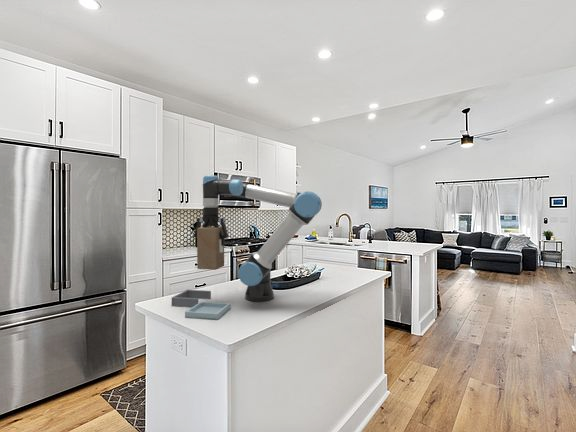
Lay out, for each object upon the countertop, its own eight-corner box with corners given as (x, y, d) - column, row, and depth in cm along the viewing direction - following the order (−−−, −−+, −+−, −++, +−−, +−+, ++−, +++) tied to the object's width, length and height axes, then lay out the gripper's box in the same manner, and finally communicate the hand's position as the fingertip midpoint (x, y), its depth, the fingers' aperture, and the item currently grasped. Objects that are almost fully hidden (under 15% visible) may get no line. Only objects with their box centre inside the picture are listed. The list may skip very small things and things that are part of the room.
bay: (210, 298, 162) (210, 290, 162) (197, 307, 148) (197, 299, 147) (187, 297, 165) (187, 289, 165) (171, 305, 150) (171, 297, 150)
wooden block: (216, 270, 148) (216, 228, 147) (196, 269, 150) (196, 227, 149) (224, 266, 158) (224, 226, 157) (206, 265, 160) (206, 226, 159)
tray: (230, 308, 146) (230, 303, 146) (217, 319, 131) (217, 314, 131) (200, 306, 149) (200, 301, 149) (185, 317, 134) (184, 311, 134)
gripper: (235, 207, 155) (235, 251, 155) (193, 207, 159) (193, 250, 159) (229, 207, 147) (229, 253, 148) (185, 207, 151) (186, 252, 152)
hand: (211, 252), depth 154 cm, fingers closed on wooden block, 10 cm apart
